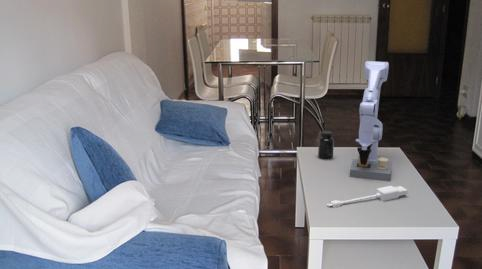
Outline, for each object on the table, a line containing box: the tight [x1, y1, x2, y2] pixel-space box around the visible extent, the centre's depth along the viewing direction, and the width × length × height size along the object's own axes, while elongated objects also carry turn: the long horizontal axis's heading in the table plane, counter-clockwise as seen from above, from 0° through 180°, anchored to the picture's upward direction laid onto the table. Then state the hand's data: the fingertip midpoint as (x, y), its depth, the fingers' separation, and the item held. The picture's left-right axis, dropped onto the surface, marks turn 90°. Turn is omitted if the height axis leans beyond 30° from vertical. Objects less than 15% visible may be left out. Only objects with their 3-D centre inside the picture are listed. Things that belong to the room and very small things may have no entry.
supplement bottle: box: [317, 130, 335, 160], centre depth 224 cm, size 7×7×12 cm
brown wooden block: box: [358, 155, 369, 168], centre depth 207 cm, size 4×4×7 cm
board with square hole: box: [349, 156, 392, 182], centre depth 206 cm, size 14×16×7 cm
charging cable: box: [326, 185, 409, 208], centre depth 180 cm, size 5×32×3 cm, turn 110°
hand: (364, 161), depth 207 cm, fingers open, 7 cm apart
